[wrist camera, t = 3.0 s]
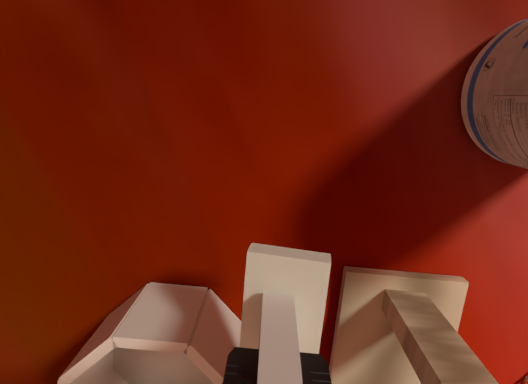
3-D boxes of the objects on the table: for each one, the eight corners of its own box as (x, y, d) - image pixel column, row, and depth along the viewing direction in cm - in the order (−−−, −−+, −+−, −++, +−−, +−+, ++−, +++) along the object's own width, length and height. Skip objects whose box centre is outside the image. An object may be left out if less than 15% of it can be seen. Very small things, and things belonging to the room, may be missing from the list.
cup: (106, 278, 29) (54, 331, 22) (251, 291, 29) (245, 348, 22) (107, 401, 32) (62, 482, 25) (241, 413, 32) (232, 498, 25)
